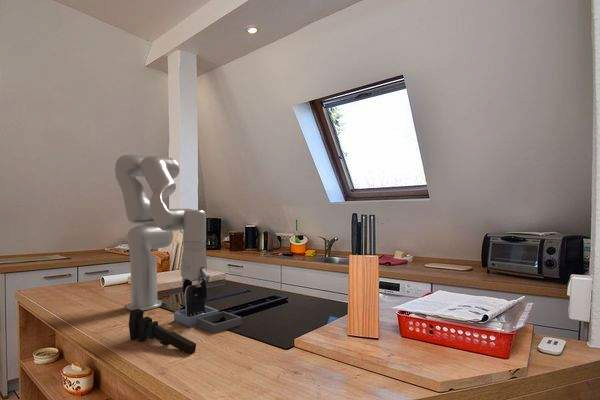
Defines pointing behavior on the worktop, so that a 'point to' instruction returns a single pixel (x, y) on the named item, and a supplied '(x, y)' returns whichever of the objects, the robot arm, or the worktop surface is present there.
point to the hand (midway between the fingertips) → (194, 295)
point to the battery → (193, 302)
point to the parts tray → (192, 321)
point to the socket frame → (230, 323)
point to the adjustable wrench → (156, 332)
